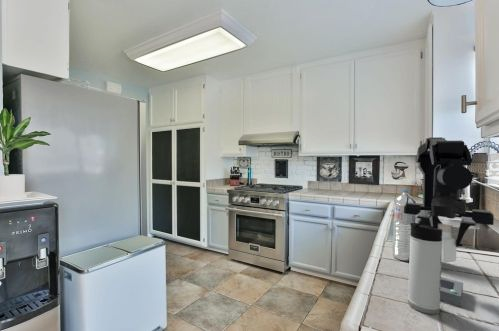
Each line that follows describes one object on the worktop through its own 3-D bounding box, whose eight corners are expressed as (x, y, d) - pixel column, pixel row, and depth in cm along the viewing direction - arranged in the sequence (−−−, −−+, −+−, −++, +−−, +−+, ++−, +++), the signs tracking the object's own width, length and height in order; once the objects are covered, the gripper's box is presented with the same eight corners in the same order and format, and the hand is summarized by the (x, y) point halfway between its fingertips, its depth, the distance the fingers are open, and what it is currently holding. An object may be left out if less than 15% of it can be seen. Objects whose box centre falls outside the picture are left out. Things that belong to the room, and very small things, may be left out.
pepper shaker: (431, 257, 71) (432, 223, 71) (442, 256, 72) (444, 222, 71) (444, 262, 67) (446, 226, 67) (457, 262, 68) (458, 226, 68)
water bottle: (416, 263, 88) (418, 191, 88) (393, 259, 91) (395, 190, 91) (412, 256, 95) (414, 189, 94) (391, 253, 97) (393, 188, 97)
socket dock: (422, 280, 75) (423, 271, 75) (462, 291, 69) (463, 281, 69) (416, 293, 68) (416, 282, 68) (460, 306, 61) (461, 294, 61)
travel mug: (400, 300, 64) (403, 220, 64) (425, 299, 64) (428, 220, 64) (418, 315, 58) (422, 227, 57) (446, 314, 58) (449, 227, 58)
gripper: (400, 185, 69) (398, 242, 69) (495, 191, 57) (493, 261, 57) (408, 183, 78) (407, 234, 78) (493, 189, 65) (491, 250, 65)
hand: (444, 244), depth 69 cm, fingers closed on pepper shaker, 5 cm apart
